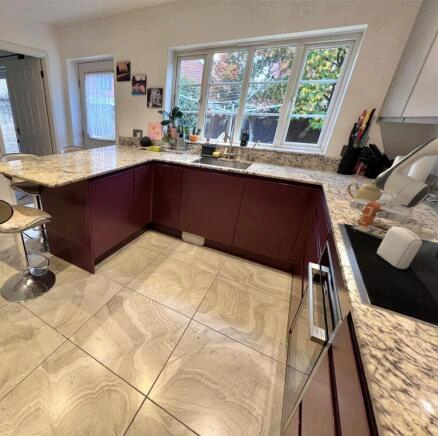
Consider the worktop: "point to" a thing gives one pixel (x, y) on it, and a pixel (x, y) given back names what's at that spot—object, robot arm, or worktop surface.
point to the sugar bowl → (366, 192)
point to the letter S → (369, 214)
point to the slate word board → (370, 231)
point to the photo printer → (399, 247)
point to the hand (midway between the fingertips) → (369, 212)
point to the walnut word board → (380, 225)
